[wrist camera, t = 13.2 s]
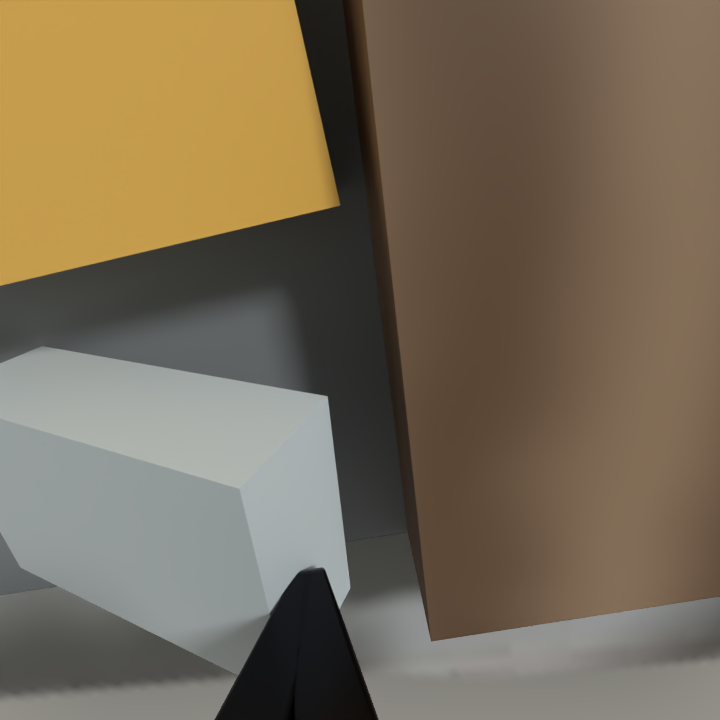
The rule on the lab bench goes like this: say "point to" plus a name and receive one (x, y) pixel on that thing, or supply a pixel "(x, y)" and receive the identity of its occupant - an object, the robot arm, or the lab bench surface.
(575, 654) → the lab bench surface
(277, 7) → the amber slide box
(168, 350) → the slate mat
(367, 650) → the lab bench surface
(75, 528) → the pale blue slide box
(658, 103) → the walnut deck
